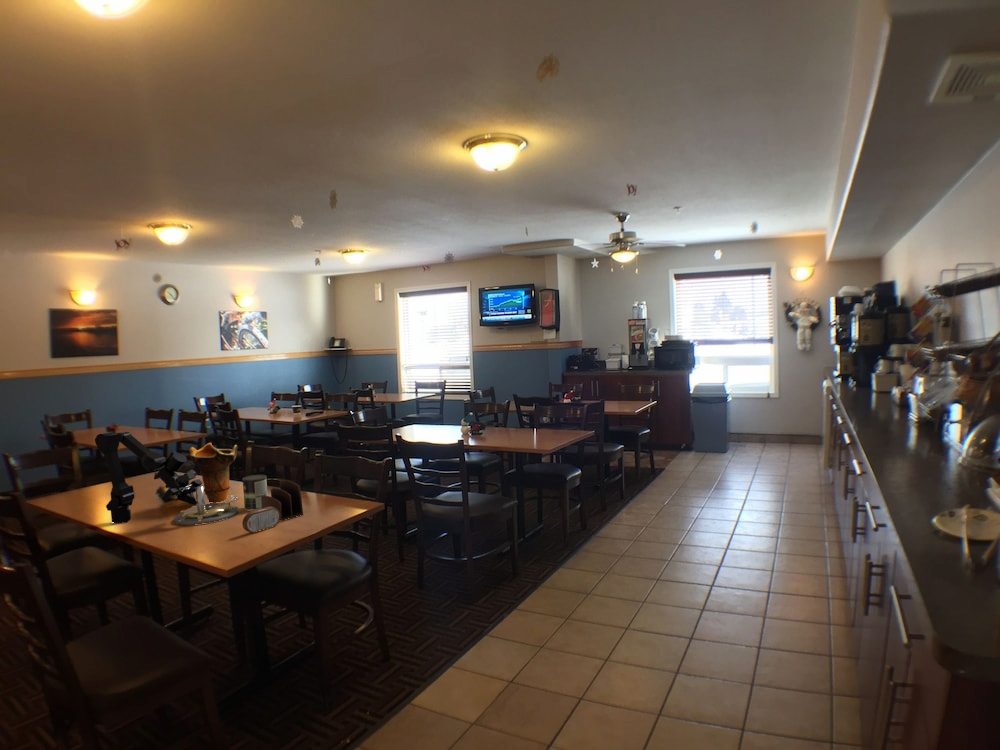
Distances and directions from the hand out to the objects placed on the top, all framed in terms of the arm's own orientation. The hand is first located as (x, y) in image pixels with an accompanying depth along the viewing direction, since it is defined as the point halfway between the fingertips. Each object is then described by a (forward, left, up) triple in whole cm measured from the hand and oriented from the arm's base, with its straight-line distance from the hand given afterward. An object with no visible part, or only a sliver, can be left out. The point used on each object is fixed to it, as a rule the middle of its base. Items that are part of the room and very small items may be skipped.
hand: (196, 504), depth 251 cm
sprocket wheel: (+3, +8, -6) cm, 10 cm away
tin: (+26, -25, -8) cm, 37 cm away
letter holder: (+34, -6, -8) cm, 35 cm away
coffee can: (+23, +12, -8) cm, 27 cm away
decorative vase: (+5, +36, -8) cm, 37 cm away
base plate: (+3, +8, -8) cm, 12 cm away
